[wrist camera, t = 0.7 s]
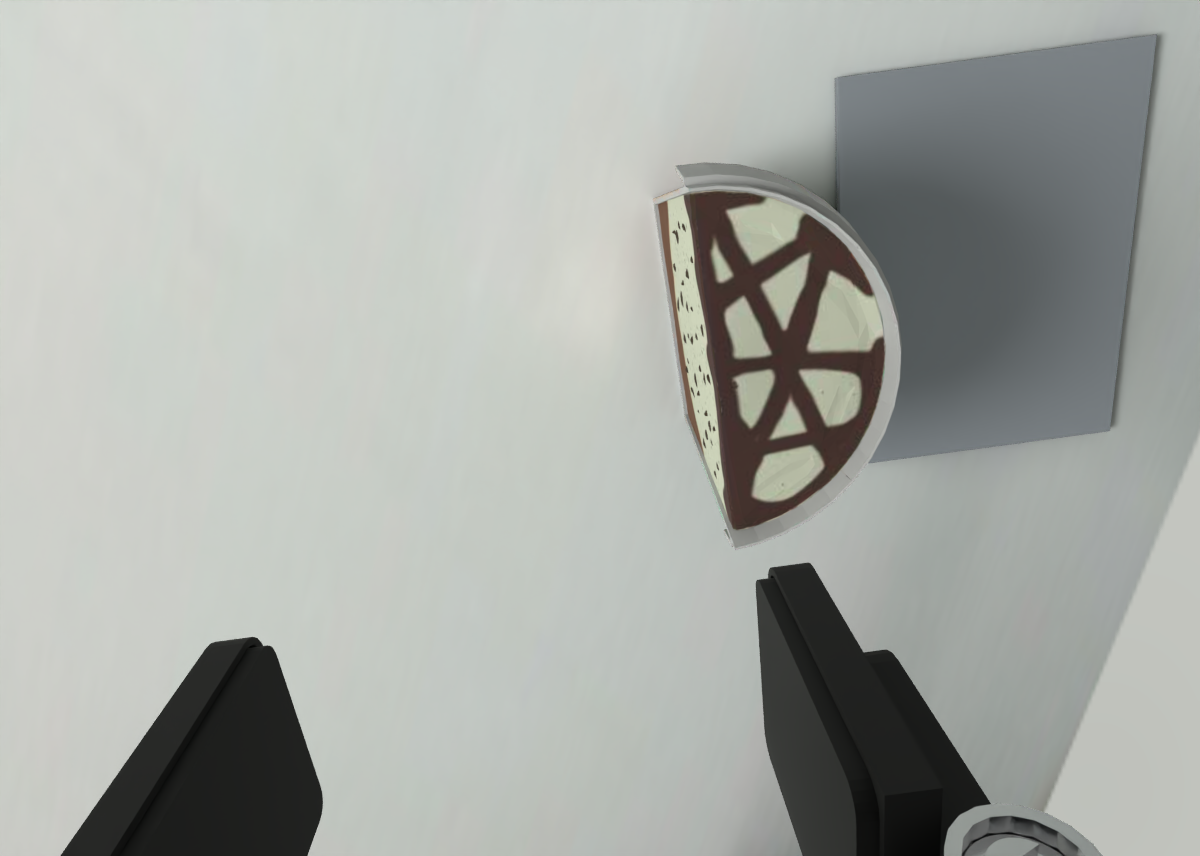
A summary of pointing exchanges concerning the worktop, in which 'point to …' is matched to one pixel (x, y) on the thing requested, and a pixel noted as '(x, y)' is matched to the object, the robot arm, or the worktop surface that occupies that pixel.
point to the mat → (999, 235)
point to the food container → (775, 343)
